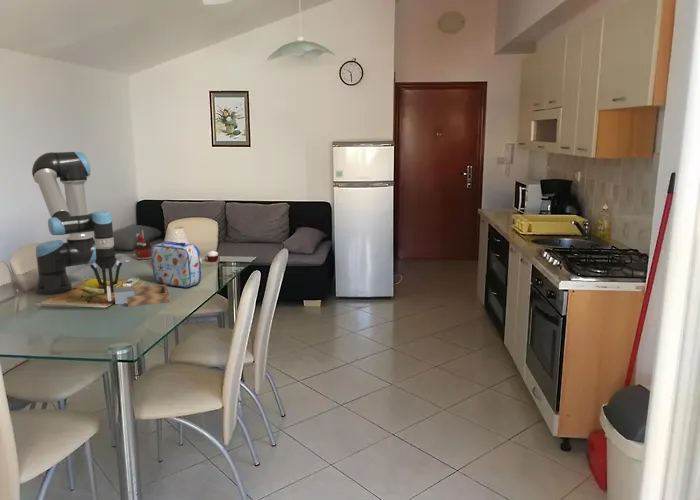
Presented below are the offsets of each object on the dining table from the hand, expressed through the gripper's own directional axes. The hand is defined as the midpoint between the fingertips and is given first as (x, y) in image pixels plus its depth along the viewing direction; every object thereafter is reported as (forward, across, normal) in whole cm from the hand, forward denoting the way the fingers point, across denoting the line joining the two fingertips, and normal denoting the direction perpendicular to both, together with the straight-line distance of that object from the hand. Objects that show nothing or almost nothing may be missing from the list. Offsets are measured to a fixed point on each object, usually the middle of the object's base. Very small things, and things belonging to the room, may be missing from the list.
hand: (109, 300), depth 246 cm
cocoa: (+1, +54, +68) cm, 87 cm away
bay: (+2, +15, 0) cm, 15 cm away
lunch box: (+2, +31, +22) cm, 38 cm away
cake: (+1, +17, +92) cm, 94 cm away
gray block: (+2, +6, 0) cm, 6 cm away
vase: (+2, +34, +56) cm, 65 cm away
